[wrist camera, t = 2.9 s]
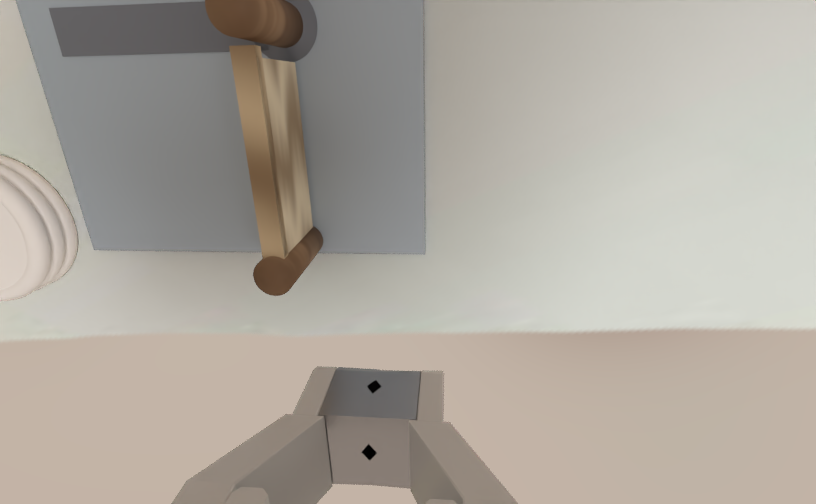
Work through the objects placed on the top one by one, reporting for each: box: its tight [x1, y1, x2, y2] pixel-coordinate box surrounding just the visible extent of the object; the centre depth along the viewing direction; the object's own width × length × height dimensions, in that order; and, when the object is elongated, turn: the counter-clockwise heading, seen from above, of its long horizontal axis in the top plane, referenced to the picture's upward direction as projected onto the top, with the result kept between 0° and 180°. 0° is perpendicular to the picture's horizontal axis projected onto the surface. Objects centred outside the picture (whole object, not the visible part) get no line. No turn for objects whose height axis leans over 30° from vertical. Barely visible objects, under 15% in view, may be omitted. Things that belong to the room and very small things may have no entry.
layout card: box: [16, 0, 425, 254], centre depth 25 cm, size 24×28×1 cm
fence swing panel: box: [229, 45, 323, 296], centre depth 24 cm, size 13×2×6 cm, turn 1°
